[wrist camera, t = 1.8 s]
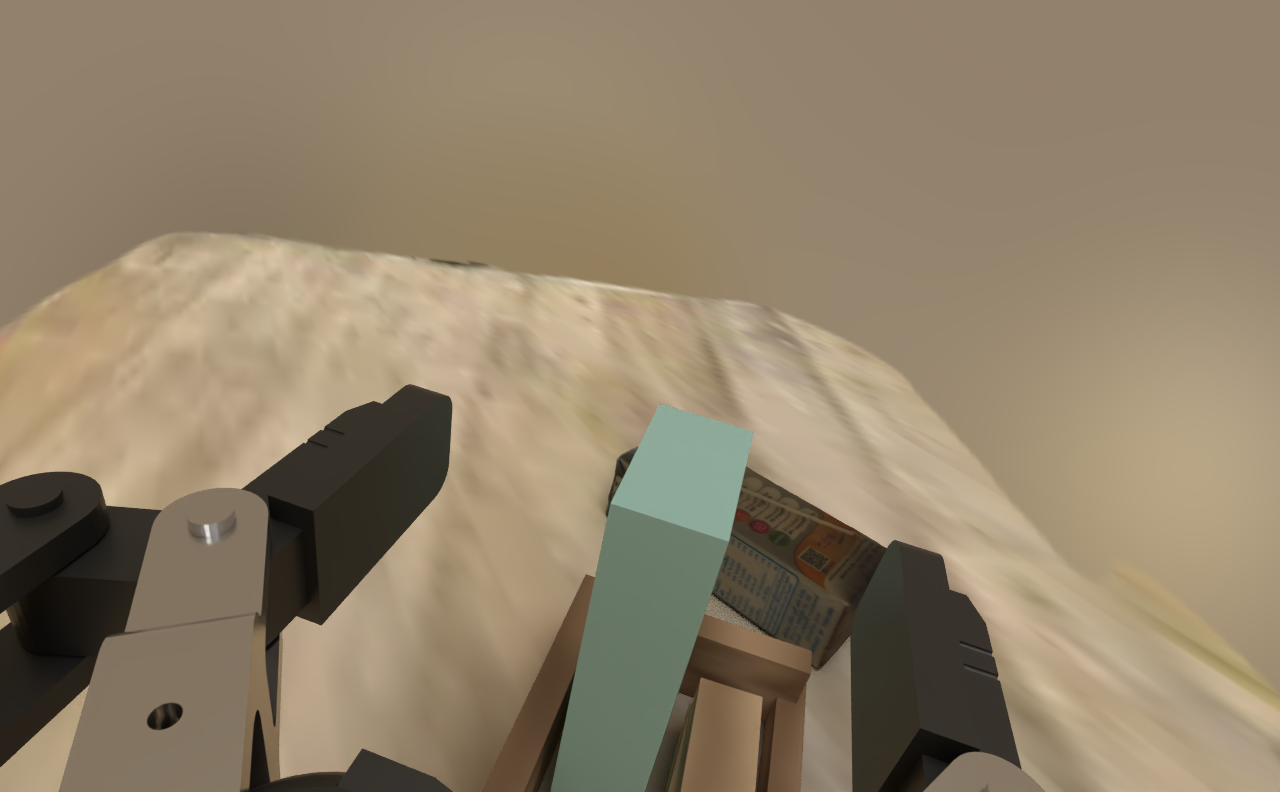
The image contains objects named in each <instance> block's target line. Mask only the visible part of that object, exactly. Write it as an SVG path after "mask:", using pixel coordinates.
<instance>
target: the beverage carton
mask: <svg viewBox="0 0 1280 792" xmlns="http://www.w3.org/2000/svg"><path fill="white" fill-rule="evenodd" d="M637 449H638V447H636V448H634V449H632V450H630V451H628V452H626V453H624V454H622V455H621V456H620V457H619V458H618V459H617V463H616V469H615V476H614V480H613V484H612V487H611V490H610V493H609V498H608V507H607V511H606V516H607V517H608V513H609V508H610V504H611V501H612V499H613V497H614V495H615V493H616V491H617V489H618V487H619V485H620V483H621V481H622V479H623V477H624V475H625V473H626V471H627V469H628V467H629V465H630V463H631V461H632V459H633V457H634V455H635V453H636V451H637ZM886 549H887V548H885V547H883V546H882V545H880V544H879V543H877V542H876V541H874V540H872V539H871V538H869V537H867V536H866V535H864V534H862V533H861V532H859V531H857V530H855V529H854V528H852V527H850V526H848V525H846V524H844V523H843V522H841V521H839V520H837V519H836V518H834V517H832V516H830V515H829V514H827V513H825V512H824V511H822V510H820V509H819V508H817V507H815V506H813V505H812V504H810V503H808V502H806V501H804V500H803V499H801V498H799V497H798V496H796V495H794V494H792V493H790V492H789V491H787V490H785V489H784V488H782V487H780V486H778V485H776V484H774V483H773V482H771V481H770V480H768V479H766V478H765V477H763V476H761V475H759V474H757V473H756V472H754V471H753V470H751V469H749V468H748V467H746V468H745V472H744V477H743V481H742V486H741V490H740V494H739V499H738V503H737V508H736V512H735V517H734V521H733V526H732V530H731V534H730V539H729V543H728V546H727V549H726V552H725V555H724V558H723V561H722V564H721V567H720V569H719V572H718V575H717V578H716V581H715V584H714V587H713V590H712V593H713V594H715V595H716V596H717V597H719V598H720V599H722V600H723V601H725V602H726V603H728V604H729V605H730V606H732V607H733V608H734V609H736V610H737V611H739V612H740V613H742V614H743V615H744V616H745V617H747V618H748V619H749V620H751V621H752V622H754V623H755V624H757V625H758V626H759V627H761V628H762V629H764V630H765V631H766V632H768V633H769V634H771V635H772V636H774V637H775V638H777V639H778V640H781V641H784V642H787V643H790V644H793V645H796V646H799V647H801V648H804V649H807V650H810V651H812V657H811V664H812V665H813V666H814V667H815V668H817V669H820V668H822V667H823V666H824V665H825V663H826V662H827V661H828V660H829V659H830V658H831V657H832V656H833V655H834V653H835V652H836V651H837V650H838V649H839V648H840V646H841V645H842V644H843V643H844V642H845V641H846V639H847V638H848V637H849V636H850V635H851V630H852V624H853V620H854V616H855V613H856V610H857V607H858V605H859V602H860V600H861V598H862V596H863V594H864V592H865V590H866V589H867V587H868V585H869V583H870V581H871V579H872V577H873V575H874V573H875V571H876V569H877V567H878V565H879V563H880V561H881V559H882V557H883V555H884V553H885V551H886Z"/></svg>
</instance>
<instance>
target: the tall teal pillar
mask: <svg viewBox="0 0 1280 792" xmlns="http://www.w3.org/2000/svg"><path fill="white" fill-rule="evenodd" d="M752 437H753V431H749V430H746V429H743V428H739V427H736V426H733V425H729V424H726V423H723V422H719V421H716V420H713V419H709V418H706V417H703V416H699V415H696V414H693V413H689V412H686V411H683V410H679V409H676V408H673V407H669V406H666V405H663V404H660V405H659V407H658V409H657V411H656V413H655V415H654V417H653V419H652V421H651V423H650V425H649V427H648V429H647V431H646V433H645V435H644V437H643V439H642V441H641V443H640V445H639V447H638V449H637V451H636V453H635V455H634V457H633V459H632V461H631V463H630V465H629V467H628V469H627V471H626V473H625V475H624V477H623V479H622V481H621V483H620V485H619V487H618V489H617V491H616V493H615V495H614V497H613V499H612V501H611V504H610V508H609V513H608V518H607V523H606V528H605V532H604V537H603V542H602V547H601V552H600V556H599V561H598V566H597V571H596V576H595V580H594V585H593V590H592V595H591V600H590V604H589V609H588V614H587V619H586V624H585V628H584V633H583V638H582V643H581V648H580V652H579V657H578V662H577V667H576V672H575V676H574V681H573V686H572V691H571V696H570V700H569V705H568V710H567V715H566V720H565V724H564V729H563V734H562V739H561V744H560V748H559V753H558V758H557V763H556V768H555V772H554V777H553V782H552V787H551V792H645V789H646V786H647V783H648V780H649V777H650V774H651V771H652V768H653V766H654V763H655V760H656V757H657V754H658V751H659V748H660V745H661V742H662V739H663V736H664V733H665V730H666V727H667V724H668V721H669V718H670V715H671V712H672V709H673V706H674V703H675V700H676V697H677V694H678V691H679V688H680V685H681V682H682V679H683V676H684V673H685V670H686V667H687V665H688V662H689V659H690V656H691V653H692V650H693V647H694V644H695V641H696V638H697V635H698V632H699V629H700V626H701V623H702V620H703V617H704V614H705V611H706V608H707V605H708V602H709V599H710V596H711V593H712V590H713V587H714V584H715V581H716V578H717V575H718V572H719V569H720V567H721V564H722V561H723V558H724V555H725V552H726V549H727V546H728V543H729V539H730V534H731V530H732V526H733V521H734V517H735V512H736V508H737V503H738V499H739V494H740V490H741V486H742V481H743V477H744V472H745V468H746V463H747V459H748V455H749V450H750V446H751V441H752Z"/></svg>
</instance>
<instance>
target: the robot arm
mask: <svg viewBox="0 0 1280 792" xmlns="http://www.w3.org/2000/svg"><path fill="white" fill-rule="evenodd" d="M451 421H452V401H451V399H450V397H449V396H446V395H443V394H440V393H437V392H434V391H430V390H427V389H424V388H421V387H418V386H415V385H411V384H409V385H406V386H404V387H403V388H402V389H400V390H399V391H398V392H397V393H395V394H394V395H393V396H392V397H390V398H389V399H388V400H387V401H385V402H384V403H383V404H381V403H378V402H375V401H373V402H370V403H367V404H364V405H362V406H359V407H356V408H353V409H350V410H348V411H345V412H344V413H342V414H341V415H340V416H338V417H337V418H336V419H334V420H333V421H332V422H330V423H329V424H328V425H326V426H325V428H324V430H320V431H318V432H317V433H316V434H314V435H313V436H312V437H310V438H309V439H308V441H307V443H306V444H305V443H302V444H301V445H300V446H298V447H297V448H296V449H294V450H293V451H292V452H290V453H289V454H288V455H286V456H285V457H284V458H282V459H281V460H280V461H278V462H277V463H276V464H274V465H273V466H272V467H270V468H269V469H268V470H266V471H265V472H264V473H262V474H261V475H260V476H258V477H257V478H256V479H254V480H253V481H252V482H250V483H249V484H248V485H246V486H245V487H244V488H242V489H236V488H215V489H208V490H203V491H199V492H195V493H192V494H189V495H187V496H184V497H182V498H180V499H178V500H176V501H174V502H173V503H171V504H170V505H168V506H167V507H166V508H164V509H163V510H151V509H139V508H127V507H115V506H106V504H105V500H104V497H103V493H102V489H101V487H100V485H99V484H98V483H97V481H95V480H94V479H92V478H91V477H88V476H86V475H83V474H79V473H73V472H47V473H40V474H34V475H29V476H25V477H21V478H18V479H15V480H12V481H9V482H7V483H5V484H2V485H0V614H1V613H2V612H3V611H5V610H6V611H7V613H8V616H9V618H10V621H11V622H10V623H9V624H8V625H6V626H5V627H4V628H3V629H1V630H0V767H1V766H2V765H3V764H4V763H6V762H7V761H8V760H9V759H10V758H11V757H12V756H13V755H14V754H15V753H16V752H17V751H18V750H19V749H21V748H22V747H23V746H24V745H25V744H26V743H27V742H28V741H29V740H30V739H31V738H32V737H33V736H35V735H36V734H37V733H38V732H39V731H40V730H41V729H42V728H43V727H44V726H45V725H46V724H47V723H49V722H50V721H51V720H52V719H53V718H54V717H55V716H56V715H57V714H58V713H59V712H60V711H61V710H62V709H64V708H65V707H66V706H67V705H68V704H69V703H70V702H71V701H72V700H73V699H74V698H75V697H76V696H78V695H79V694H80V693H81V692H82V691H83V690H84V689H85V688H86V687H87V686H88V685H89V684H90V685H89V688H88V692H87V695H86V699H85V702H84V706H83V709H82V713H81V716H80V720H79V723H78V727H77V730H76V733H75V737H74V740H73V744H72V747H71V751H70V754H69V758H68V761H67V765H66V768H65V772H64V775H63V779H62V782H61V786H60V789H59V792H452V791H451V790H450V789H449V788H447V787H446V786H445V785H444V784H442V783H441V782H440V781H439V780H437V779H436V778H435V777H432V776H430V775H427V774H425V773H422V772H420V771H417V770H415V769H412V768H410V767H407V766H405V765H402V764H400V763H397V762H395V761H392V760H390V759H387V758H385V757H382V756H380V755H377V754H375V753H372V752H370V751H367V750H365V749H362V750H361V751H360V753H359V754H358V756H357V757H356V759H355V760H354V761H353V763H352V764H351V766H350V767H349V769H348V770H347V772H317V773H309V774H302V775H296V776H291V777H287V778H283V779H280V765H279V729H280V703H281V676H282V650H283V638H282V630H283V629H284V628H285V627H286V626H287V625H288V624H289V623H290V622H291V621H292V620H293V619H294V618H295V617H296V616H298V617H300V618H303V619H306V620H308V621H311V622H314V623H316V624H319V625H322V624H323V623H324V622H325V621H326V620H327V619H328V618H329V616H330V615H331V614H332V613H333V612H334V611H335V610H336V609H337V607H338V606H339V605H340V604H341V603H342V602H343V601H344V599H345V598H346V597H347V596H348V595H349V594H350V593H351V592H352V590H353V589H354V588H355V587H356V586H357V585H358V584H359V583H360V581H361V580H362V579H363V578H364V577H365V576H366V575H367V574H368V572H369V571H370V570H371V569H372V568H373V567H374V566H375V565H376V563H377V562H378V561H379V560H380V559H381V558H382V557H383V556H384V554H385V553H386V552H387V551H388V550H389V549H390V548H391V547H392V545H393V544H394V543H395V542H396V541H397V540H398V539H399V538H400V536H401V535H402V534H403V533H404V532H405V531H406V530H407V529H408V527H409V526H410V525H411V524H412V523H413V522H414V521H415V520H416V518H417V517H418V516H419V515H420V514H421V513H422V512H423V511H424V509H425V508H426V507H427V506H428V505H429V504H430V503H431V502H432V500H433V499H434V498H435V497H436V496H437V494H438V493H439V491H440V489H441V488H442V485H443V483H444V481H445V478H446V475H447V472H448V467H449V454H450V438H451ZM992 652H993V651H992V647H991V643H990V639H989V635H988V631H987V627H986V623H985V622H984V620H983V619H982V617H981V616H980V614H979V613H978V611H977V610H976V608H975V607H974V605H973V604H972V602H971V601H970V600H969V598H968V597H967V595H964V594H961V593H958V592H955V591H952V590H949V585H948V580H947V575H946V570H945V564H944V560H943V557H942V556H941V555H940V554H937V553H934V552H931V551H928V550H925V549H922V548H918V547H915V546H912V545H909V544H906V543H903V542H900V541H897V540H894V541H892V542H891V543H890V545H889V546H888V548H887V549H886V551H885V553H884V555H883V557H882V559H881V561H880V563H879V565H878V567H877V569H876V571H875V573H874V575H873V577H872V579H871V581H870V583H869V585H868V587H867V589H866V590H865V592H864V594H863V596H862V598H861V600H860V602H859V605H858V607H857V610H856V613H855V616H854V620H853V624H852V630H851V712H852V785H853V792H1045V791H1044V790H1043V789H1042V788H1041V787H1040V786H1039V785H1038V784H1037V783H1036V782H1035V781H1034V780H1033V779H1032V778H1031V777H1030V776H1029V775H1027V774H1026V773H1025V772H1024V771H1023V770H1022V769H1021V765H1020V761H1019V757H1018V753H1017V749H1016V745H1015V741H1014V737H1013V732H1012V728H1011V724H1010V720H1009V716H1008V712H1007V708H1006V704H1005V700H1004V696H1003V692H1002V688H1001V684H1000V681H999V680H997V677H998V671H997V667H996V663H995V659H994V657H992Z"/></svg>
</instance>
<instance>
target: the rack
mask: <svg viewBox="0 0 1280 792" xmlns="http://www.w3.org/2000/svg"><path fill="white" fill-rule="evenodd" d="M594 580H595V577H592V576H589V575H585V577H584V579H583V581H582V584H581V586H580V588H579V590H578V592H577V594H576V596H575V598H574V600H573V602H572V605H571V607H570V609H569V611H568V613H567V615H566V617H565V619H564V621H563V623H562V626H561V628H560V630H559V632H558V634H557V636H556V638H555V640H554V642H553V644H552V647H551V649H550V651H549V653H548V655H547V657H546V659H545V661H544V663H543V665H542V668H541V670H540V672H539V674H538V676H537V678H536V680H535V682H534V684H533V686H532V689H531V691H530V693H529V695H528V697H527V699H526V701H525V703H524V705H523V707H522V709H521V712H520V714H519V716H518V718H517V720H516V722H515V724H514V726H513V728H512V730H511V733H510V735H509V737H508V739H507V741H506V743H505V745H504V747H503V749H502V751H501V754H500V756H499V758H498V760H497V762H496V764H495V766H494V768H493V770H492V772H491V775H490V777H489V779H488V781H487V783H486V785H485V787H484V789H483V791H482V792H538V790H539V787H540V785H541V782H542V780H543V777H544V775H545V772H546V770H547V767H548V765H549V763H550V760H551V758H552V755H553V753H554V750H555V748H556V745H557V743H558V740H559V738H560V735H561V733H562V730H563V728H564V724H565V720H566V715H567V710H568V705H569V700H570V696H571V691H572V686H573V681H574V676H575V672H576V667H577V662H578V657H579V652H580V648H581V643H582V638H583V633H584V628H585V624H586V619H587V614H588V609H589V604H590V600H591V595H592V590H593V585H594ZM811 657H812V651H810V650H807V649H804V648H801V647H799V646H796V645H793V644H790V643H787V642H784V641H781V640H778V639H775V638H772V637H769V636H766V635H763V634H760V633H757V632H754V631H751V630H748V629H745V628H743V627H740V626H737V625H734V624H731V623H728V622H725V621H722V620H719V619H716V618H713V617H710V616H707V615H704V617H703V620H702V623H701V626H700V629H699V632H698V635H697V638H696V641H695V644H694V647H693V650H692V653H691V656H690V659H689V662H688V665H687V667H686V670H685V673H684V676H683V679H682V682H681V685H680V688H679V691H678V692H680V693H683V694H686V695H688V696H691V697H694V696H695V693H696V690H697V687H698V684H699V681H700V679H701V678H704V679H707V680H711V681H714V682H717V683H720V684H723V685H726V686H729V687H733V688H736V689H739V690H742V691H745V692H748V693H751V694H755V695H758V696H761V697H763V699H762V712H761V722H764V723H765V728H764V737H763V746H762V755H761V764H760V773H759V781H758V790H757V792H800V788H801V770H802V752H803V735H804V717H805V699H806V683H807V681H808V679H809V677H810V674H811Z"/></svg>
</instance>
